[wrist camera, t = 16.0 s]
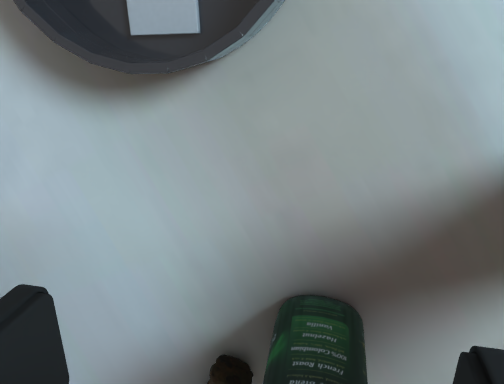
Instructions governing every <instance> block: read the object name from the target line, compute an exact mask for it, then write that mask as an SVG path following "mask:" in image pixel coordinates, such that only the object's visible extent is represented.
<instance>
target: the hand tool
mask: <svg viewBox="0 0 504 384" xmlns="http://www.w3.org/2000/svg"><path fill="white" fill-rule="evenodd" d="M252 377H253V373H252V371H251V369H250V367H249V365H248V364H247V363H245V362H242V361H241V360H239V359H237V358H234V357H231V356H227V355H222V356H219V357H218V358H217V360H216V363H215V364H214V365H212V367H211V370H210V380H209V381H208V383H207V384H251V383H252Z"/></svg>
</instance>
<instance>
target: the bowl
mask: <svg viewBox="0 0 504 384" xmlns="http://www.w3.org/2000/svg"><path fill="white" fill-rule="evenodd" d="M13 1H14V2H15V4H16V5H17V7H18V8H19V10H20V11H21V12H22V13H23V14H24V15H25V16H26V17H27V18H29V19H30V20H31V21H32V22H33V23H34V24H35V25H36V26H37V27H38V28H39V29H40V30H41V31H42V32H44V33H45V34H46V35H47V36H48V37H49V38H50V39H51V40H52V41H53V42H55V43H56V44H58V45H60V46H61V47H63V48H65V49H67V50H68V51H70V52H72V53H74V54H75V55H77V56H79V57H81V58H82V59H84V60H86V61H88V62H89V63H91V64H95V65H98V66H102V67H106V68H110V69H113V70H117V71H121V72H124V73H128V74H129V73H130V74H151V73H172V72H175V71H179V70H183V69H186V68H190V67H193V66H196V65H199V64H202V63H206V62H209V61H212V60H215V59H218V58H221V57H224V56H225V55H227V54H228V53H230V52H232V51H233V50H235V49H237V48H239V47H240V46H242V45H243V44H244V43H246V42H247V41H248V40H250V39H251V38H252V37H254V36H255V35H256V34H257V33H258V32H259V31H260V30H261V29H262V28H263V27H264V26H265V25H266V24H267V23H268V22H269V21H270V20H271V19H272V17H273V16H274V15H275V13H276V12H277V11H278V9H279V8H280V7H281V5H282V4H283V3H284V1H285V0H198V5H199V19H200V33H196V34H166V35H135V36H132V35H131V33H130V25H129V17H128V9H127V2H126V0H13Z"/></svg>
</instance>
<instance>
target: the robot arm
mask: <svg viewBox="0 0 504 384" xmlns="http://www.w3.org/2000/svg"><path fill="white" fill-rule="evenodd" d="M0 384H69V373H68V369H67V364H66V359H65V354H64V349H63V345H62V340H61V335H60V330H59V325H58V321H57V316H56V311H55V306H54V301H53V298H52V296H51V295H50V294H48V291H47V290H46V289H45V288H44V287H39V286H31V285H24V284H22V285H18V286H16V287H14V288H13V289H12V290H11V291H9V292H8V293H7V294H6V295H4V296H3V297H2V298H1V299H0ZM453 384H504V350H501V349H494V348H486V347H479V346H472V347H471V349H470V351H469V353H468V352H462V353H461V354H460V357H459V360H458V364H457V368H456V373H455V377H454V381H453Z"/></svg>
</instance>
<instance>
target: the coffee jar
mask: <svg viewBox="0 0 504 384" xmlns="http://www.w3.org/2000/svg"><path fill="white" fill-rule="evenodd" d="M263 384H368V382H367V370H366V356H365V341H364V330H363V323H362V319H361V317H360V315H359V314H358V312H357V311H356V310H355V309H353V308H352V307H351V306H349V305H348V304H346V303H343V302H341V301H338V300H335V299H331V298H327V297H322V296H314V295H302V296H297V297H294V298H291V299H289V300H288V301H286V302H285V303H284V304H283V305H282V307H281V308H280V310H279V313H278V316H277V319H276V323H275V326H274V331H273V336H272V340H271V345H270V350H269V355H268V361H267V366H266V371H265V376H264V380H263Z"/></svg>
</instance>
